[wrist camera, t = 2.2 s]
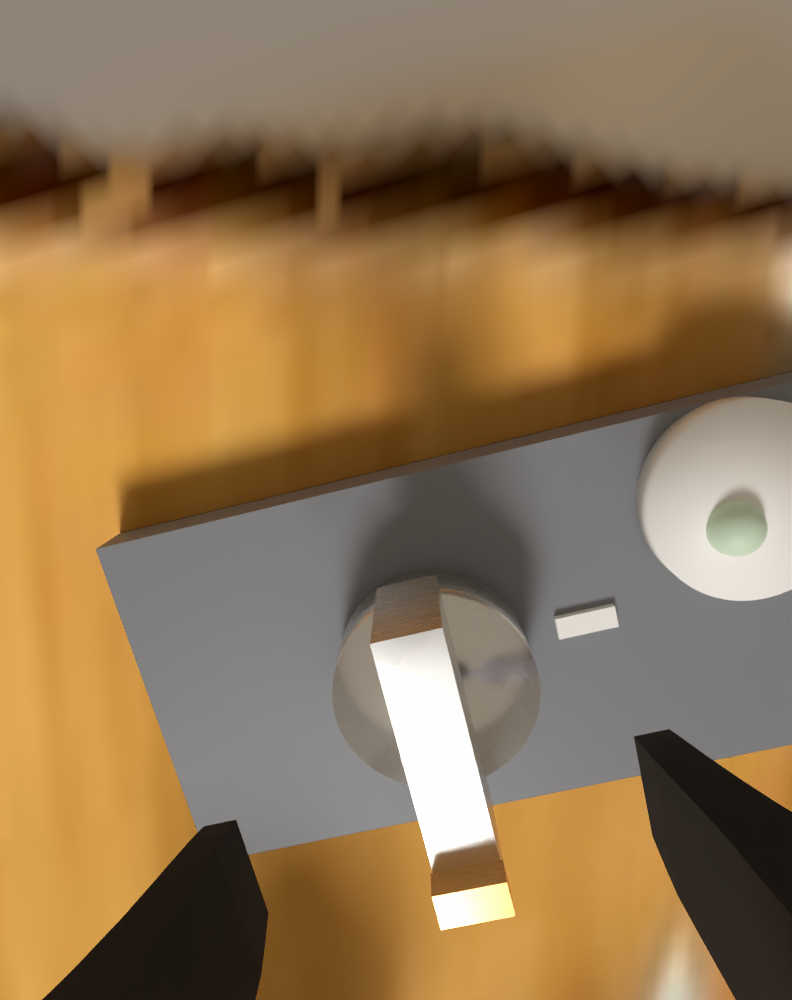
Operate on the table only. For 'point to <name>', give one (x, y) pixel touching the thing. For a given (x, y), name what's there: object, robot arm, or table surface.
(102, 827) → the table surface
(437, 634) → the knob
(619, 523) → the base
